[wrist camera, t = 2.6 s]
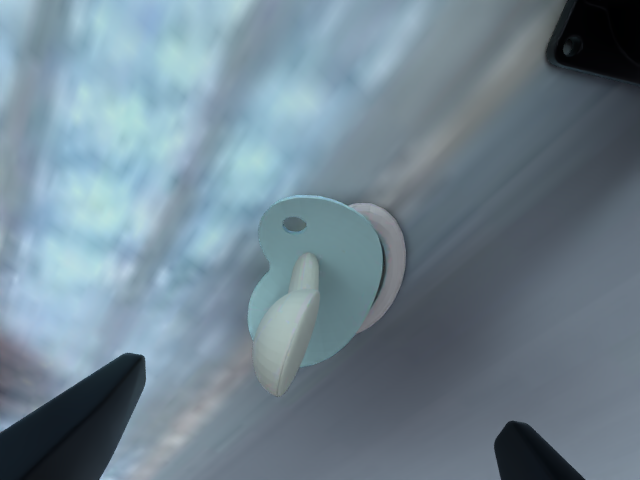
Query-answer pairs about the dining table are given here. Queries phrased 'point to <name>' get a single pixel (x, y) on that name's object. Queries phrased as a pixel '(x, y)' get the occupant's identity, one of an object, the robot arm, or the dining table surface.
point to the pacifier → (320, 283)
